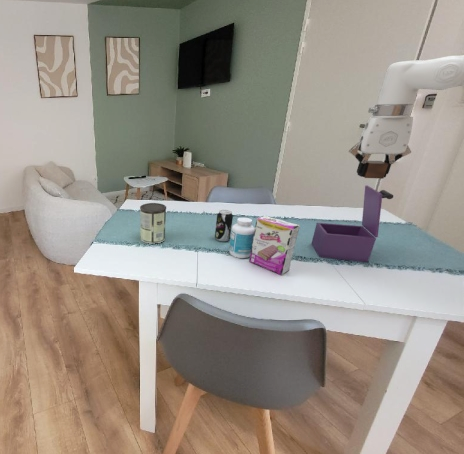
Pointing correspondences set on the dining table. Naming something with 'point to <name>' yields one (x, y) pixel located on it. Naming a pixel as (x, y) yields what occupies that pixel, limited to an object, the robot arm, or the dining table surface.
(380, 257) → the dining table surface
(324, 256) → the box
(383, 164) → the block
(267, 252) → the candy bar box
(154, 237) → the coffee can
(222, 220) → the beverage can
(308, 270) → the dining table surface
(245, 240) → the pill bottle
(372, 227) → the lid
